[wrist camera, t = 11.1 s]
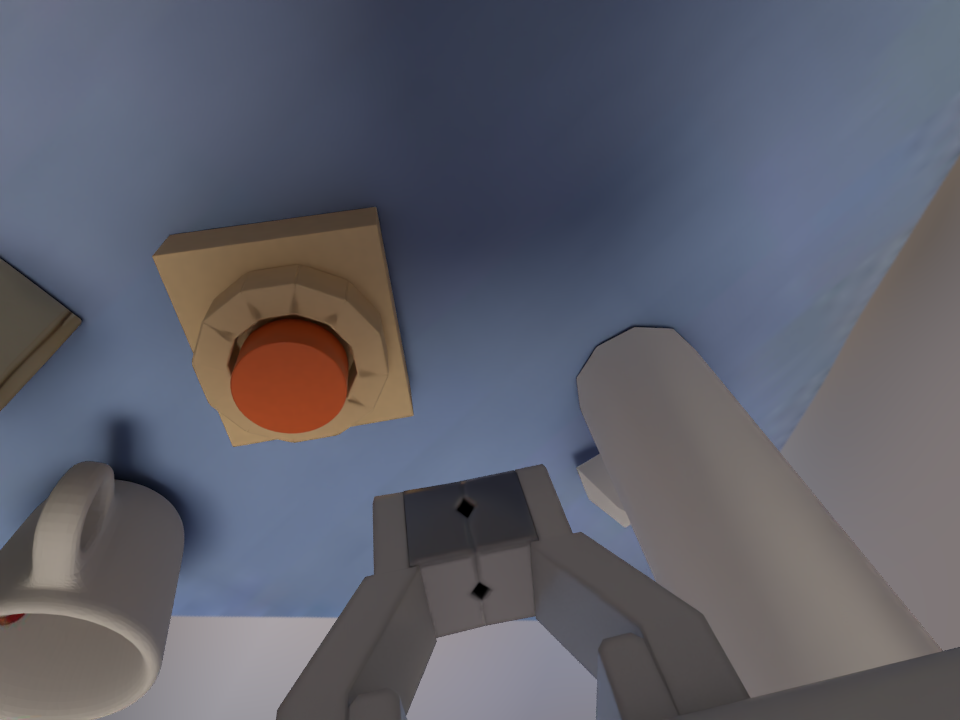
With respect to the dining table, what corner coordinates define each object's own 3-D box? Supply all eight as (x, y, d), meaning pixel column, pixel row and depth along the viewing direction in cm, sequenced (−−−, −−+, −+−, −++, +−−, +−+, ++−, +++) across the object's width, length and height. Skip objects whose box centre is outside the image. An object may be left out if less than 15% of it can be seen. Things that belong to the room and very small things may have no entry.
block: (169, 234, 22) (134, 276, 19) (376, 206, 23) (377, 241, 20) (242, 416, 27) (224, 475, 24) (410, 388, 28) (416, 441, 24)
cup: (14, 396, 25) (-117, 544, 18) (214, 422, 27) (164, 561, 20) (31, 564, 30) (-66, 729, 23) (199, 574, 32) (155, 725, 25)
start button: (224, 327, 21) (213, 352, 19) (335, 310, 21) (333, 333, 20) (257, 414, 23) (249, 442, 21) (357, 397, 23) (357, 424, 22)
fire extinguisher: (518, 467, 32) (809, 1366, 11) (624, 274, 26) (1596, 1315, 6) (620, 487, 34) (1023, 1265, 13) (736, 313, 29) (1728, 1158, 8)
